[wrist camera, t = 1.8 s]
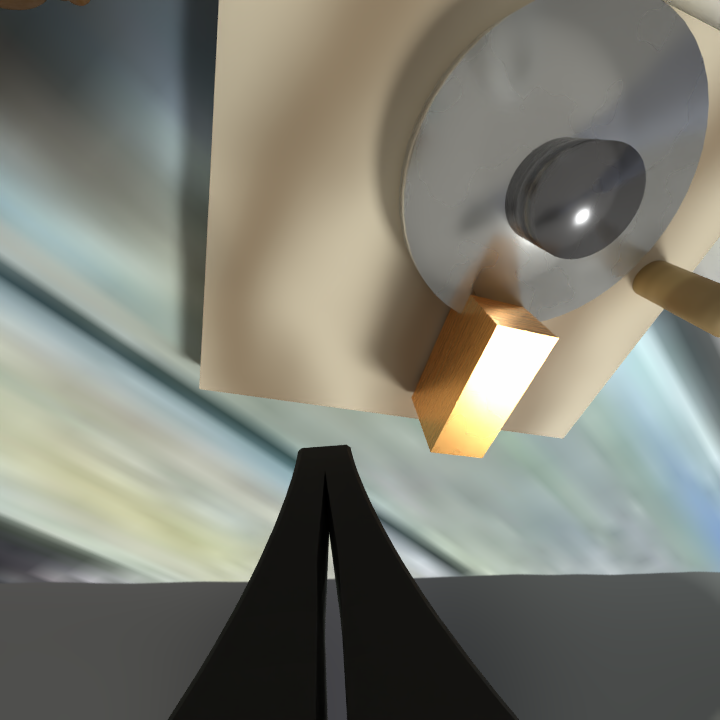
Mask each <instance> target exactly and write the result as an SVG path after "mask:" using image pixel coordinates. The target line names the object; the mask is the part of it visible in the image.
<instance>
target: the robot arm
mask: <svg viewBox="0 0 720 720" xmlns="http://www.w3.org/2000/svg"><path fill="white" fill-rule="evenodd" d="M329 534H330V542H331V549H332V557H333V564H334V572H335V580H336V586H337V595H338V602H339V609H340V618H341V627H342V637H343V652H344V653H343V654H344V672H345V688H346V704H347V705H346V706H347V720H519V719H518V718H517V717H516V715H515V714H514V713H513V712H512V711H511V709H510V708H509V707H508V706H507V705H506V703H505V702H504V701H503V700H502V699H501V697H500V696H499V695H498V694H497V692H496V691H495V690H494V689H493V687H492V686H491V685H490V684H489V682H488V681H487V680H486V678H485V677H484V676H483V675H482V673H481V672H480V671H479V670H478V668H477V667H476V666H475V665H474V664H473V662H472V661H471V659H470V658H469V657H468V655H467V654H466V653H465V652H464V650H463V649H462V647H461V646H460V645H459V643H458V642H457V641H456V639H455V638H454V636H453V635H452V634H451V633H450V631H449V630H448V629H447V627H446V626H445V624H444V623H443V622H442V621H441V619H440V618H439V616H438V615H437V613H436V612H435V610H434V609H433V607H432V606H431V605H430V603H429V602H428V600H427V599H426V597H425V596H424V594H423V593H422V591H421V590H420V588H419V587H418V585H417V584H416V582H415V580H414V579H413V577H412V576H411V574H410V573H409V571H408V569H407V568H406V566H405V565H404V563H403V561H402V560H401V558H400V556H399V554H398V553H397V551H396V549H395V548H394V546H393V544H392V542H391V540H390V539H389V537H388V535H387V533H386V532H385V530H384V528H383V526H382V524H381V522H380V520H379V518H378V516H377V514H376V512H375V510H374V508H373V506H372V504H371V502H370V500H369V498H368V495H367V493H366V491H365V489H364V486H363V484H362V481H361V479H360V477H359V474H358V471H357V469H356V466H355V463H354V459H353V456H352V452H351V448H350V447H349V446H348V445H337V446H324V447H311V448H302V449H300V450H299V451H298V455H297V460H296V465H295V469H294V472H293V476H292V479H291V482H290V485H289V488H288V492H287V495H286V497H285V500H284V503H283V505H282V508H281V510H280V513H279V516H278V518H277V521H276V523H275V526H274V528H273V531H272V533H271V535H270V537H269V540H268V542H267V544H266V546H265V549H264V551H263V553H262V555H261V558H260V560H259V562H258V564H257V566H256V568H255V570H254V572H253V574H252V576H251V578H250V580H249V582H248V584H247V586H246V588H245V590H244V592H243V595H242V596H241V598H240V600H239V602H238V603H237V605H236V607H235V609H234V611H233V613H232V614H231V616H230V618H229V620H228V622H227V623H226V626H225V627H224V629H223V631H222V632H221V634H220V636H219V638H218V639H217V641H216V643H215V645H214V646H213V648H212V650H211V651H210V653H209V655H208V656H207V658H206V660H205V661H204V663H203V665H202V666H201V668H200V670H199V672H198V673H197V675H196V676H195V678H194V679H193V681H192V682H191V684H190V686H189V687H188V689H187V690H186V692H185V694H184V695H183V697H182V698H181V700H180V701H179V703H178V705H177V706H176V708H175V709H174V711H173V713H172V714H171V716H170V717H169V719H168V720H328V719H327V718H328V717H327V687H326V653H325V617H326V594H327V571H328V547H329Z"/></svg>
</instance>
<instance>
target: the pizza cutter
mask: <svg viewBox="0 0 720 720" xmlns="http://www.w3.org/2000/svg"><path fill="white" fill-rule="evenodd" d="M708 108H709V96H708V80H707V75H706V70H705V65H704V60H703V57H702V54H701V52H700V49H699V46H698V44H697V41H696V39H695V37H694V35H693V34H692V32H691V31H690V29H689V27H688V26H687V24H686V22H685V21H684V20H683V19H682V18H681V17H680V16H679V15H678V14H677V12H676V11H675V10H674V9H673V8H672V7H671V6H670V5H668V4H667V3H665V2H664V1H662V0H535V1H533V2H531V3H529V4H527V5H526V6H524V7H522V8H520V9H518V10H516V11H515V12H513V13H511V14H510V15H508V16H506V17H504V18H503V19H501V20H499V21H498V22H496V23H495V24H493V25H492V26H491V27H490V28H488V29H487V30H486V31H484V32H483V33H482V34H481V35H479V36H478V37H477V38H476V39H474V40H473V41H472V42H471V43H470V44H469V45H468V46H467V47H466V48H465V49H464V50H463V51H462V52H461V53H460V54H459V55H458V56H457V57H456V59H455V60H454V61H453V62H452V64H451V65H450V66H449V67H448V69H447V70H446V71H445V73H444V74H443V75H442V76H441V78H440V79H439V80H438V82H437V84H436V85H435V87H434V88H433V90H432V92H431V93H430V95H429V97H428V98H427V100H426V101H425V104H424V106H423V108H422V110H421V112H420V114H419V116H418V118H417V120H416V122H415V125H414V127H413V130H412V133H411V136H410V139H409V141H408V144H407V147H406V152H405V156H404V160H403V164H402V169H401V177H400V186H399V214H400V222H401V229H402V233H403V237H404V241H405V245H406V248H407V250H408V252H409V255H410V257H411V260H412V262H413V263H414V265H415V267H416V269H417V270H418V272H419V274H420V275H421V277H422V278H423V279H424V281H425V282H426V284H427V285H428V286H429V287H430V289H431V290H432V291H433V292H434V294H435V295H436V296H437V297H438V298H439V299H441V300H442V301H443V302H444V303H445V304H446V305H447V306H449V307H450V308H451V309H450V311H449V313H448V316H447V318H446V320H445V323H444V325H443V327H442V329H441V332H440V334H439V336H438V338H437V341H436V343H435V345H434V348H433V350H432V352H431V354H430V357H429V359H428V361H427V363H426V366H425V368H424V370H423V373H422V375H421V377H420V379H419V382H418V384H417V386H416V388H415V391H414V393H413V395H412V401H413V404H414V407H415V409H416V412H417V415H418V418H419V421H420V423H421V426H422V429H423V432H424V435H425V438H426V440H427V443H428V446H429V449H430V452H434V453H443V454H452V455H460V456H469V457H478V458H482V457H483V456H484V454H485V453H486V451H487V450H488V448H489V446H490V445H491V443H492V442H493V440H494V439H495V437H496V435H497V434H498V432H499V431H500V429H501V428H502V426H503V425H504V423H505V421H506V420H507V418H508V417H509V415H510V414H511V412H512V410H513V409H514V407H515V406H516V404H517V403H518V401H519V400H520V398H521V396H522V395H523V393H524V392H525V390H526V389H527V387H528V385H529V384H530V382H531V381H532V379H533V378H534V376H535V375H536V373H537V371H538V370H539V368H540V367H541V365H542V364H543V362H544V360H545V359H546V357H547V356H548V354H549V353H550V351H551V349H552V348H553V346H554V345H555V343H556V342H557V340H558V339H559V338H558V337H557V336H556V335H554V334H553V333H552V332H551V331H550V330H549V329H548V328H547V327H545V326H544V325H543V324H542V323H541V321H546V320H549V319H552V318H555V317H558V316H561V315H563V314H566V313H568V312H570V311H572V310H575V309H577V308H579V307H581V306H583V305H584V304H586V303H588V302H590V301H591V300H593V299H595V298H596V297H598V296H599V295H601V294H602V293H604V292H605V291H607V290H608V289H609V288H611V287H612V286H613V285H614V284H616V283H617V282H618V281H619V280H621V279H622V278H623V277H624V276H625V275H626V274H627V273H628V272H630V271H631V270H632V269H633V268H634V267H635V266H636V265H637V264H638V263H639V262H640V261H641V260H642V258H643V257H644V256H645V255H646V254H647V253H648V252H649V251H650V249H651V248H652V247H653V246H654V245H655V243H656V242H657V241H658V239H659V238H660V237H661V235H662V234H663V233H664V231H665V230H666V228H667V227H668V225H669V224H670V222H671V221H672V219H673V217H674V216H675V214H676V213H677V211H678V209H679V207H680V205H681V203H682V201H683V199H684V197H685V196H686V194H687V192H688V189H689V187H690V184H691V182H692V179H693V177H694V175H695V172H696V169H697V166H698V163H699V160H700V156H701V153H702V150H703V145H704V140H705V135H706V129H707V122H708Z"/></svg>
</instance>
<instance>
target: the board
mask: <svg viewBox="0 0 720 720" xmlns="http://www.w3.org/2000/svg"><path fill="white" fill-rule="evenodd" d="M533 1H535V0H219V10H218V29H217V49H216V69H215V89H214V109H213V129H212V149H211V169H210V188H209V208H208V228H207V248H206V268H205V288H204V308H203V327H202V347H201V367H200V387H199V389H204V390H211V391H218V392H226V393H233V394H240V395H248V396H255V397H262V398H270V399H277V400H284V401H292V402H299V403H306V404H314V405H321V406H328V407H336V408H343V409H350V410H358V411H365V412H372V413H380V414H387V415H394V416H402V417H409V418H416V419H419V418H418V415H417V412H416V409H415V407H414V404H413V401H412V395H413V393H414V391H415V388H416V386H417V384H418V382H419V379H420V377H421V375H422V373H423V370H424V368H425V366H426V363H427V361H428V359H429V357H430V354H431V352H432V350H433V348H434V345H435V343H436V341H437V338H438V336H439V334H440V332H441V329H442V327H443V325H444V323H445V320H446V318H447V316H448V313H449V311H450V309H451V308H450V307H449V306H447V305H446V304H445V303H444V302H443V301H442V300H441V299H439V298H438V297H437V296H436V295H435V294H434V292H433V291H432V290H431V289H430V287H429V286H428V285H427V284H426V282H425V281H424V279H423V278H422V277H421V275H420V274H419V272H418V270H417V269H416V267H415V265H414V263H413V262H412V260H411V257H410V255H409V252H408V250H407V248H406V245H405V241H404V237H403V233H402V229H401V222H400V214H399V186H400V177H401V169H402V164H403V160H404V156H405V152H406V147H407V144H408V141H409V139H410V136H411V133H412V130H413V127H414V125H415V122H416V120H417V118H418V116H419V114H420V112H421V110H422V108H423V106H424V104H425V101H426V100H427V98H428V97H429V95H430V93H431V92H432V90H433V88H434V87H435V85H436V84H437V82H438V80H439V79H440V78H441V76H442V75H443V74H444V73H445V71H446V70H447V69H448V67H449V66H450V65H451V64H452V62H453V61H454V60H455V59H456V57H457V56H458V55H459V54H460V53H461V52H462V51H463V50H464V49H465V48H466V47H467V46H468V45H469V44H470V43H471V42H472V41H473V40H474V39H476V38H477V37H478V36H479V35H481V34H482V33H483V32H484V31H486V30H487V29H488V28H490V27H491V26H492V25H493V24H495V23H496V22H498V21H499V20H501V19H503V18H504V17H506V16H508V15H510V14H511V13H513V12H515V11H516V10H518V9H520V8H522V7H524V6H526V5H527V4H529V3H531V2H533ZM665 3H666V2H665ZM668 5H669V4H668ZM670 6H671V5H670ZM671 7H672V8H673V9H674V10H675V11H676V12H677V14H678V15H679V16H680V17H681V18H682V19H683V20H684V21H685V22H686V24H687V26H688V27H689V29H690V31H691V32H692V34H693V35H694V37H695V39H696V41H697V44H698V46H699V49H700V52H701V54H702V57H703V60H704V65H705V70H706V75H707V80H708V96H709V108H708V122H707V129H706V135H705V140H704V145H703V150H702V153H701V156H700V160H699V163H698V166H697V169H696V172H695V175H694V177H693V179H692V182H691V184H690V187H689V189H688V192H687V194H686V196H685V197H684V199H683V201H682V203H681V205H680V207H679V209H678V211H677V213H676V214H675V216H674V217H673V219H672V221H671V222H670V224H669V225H668V227H667V228H666V230H665V231H664V233H663V234H662V235H661V237H660V238H659V239H658V241H657V242H656V243H655V245H654V246H653V247H652V248H651V249H650V251H649V252H648V253H647V254H646V255H645V256H644V257H643V258H642V260H641V261H640V262H639V263H638V264H637V265H636V266H635V267H634V268H633V269H632V270H631V271H630V272H628V273H627V274H626V275H625V276H624V277H623V278H622V279H621V280H619V281H618V282H617V283H616V284H614V285H613V286H612V287H611V288H609V289H608V290H607V291H605V292H604V293H602V294H601V295H599V296H598V297H596V298H595V299H593V300H591V301H590V302H588V303H586V304H584V305H583V306H581V307H579V308H577V309H575V310H572V311H570V312H568V313H566V314H563V315H561V316H558V317H555V318H552V319H549V320H546V321H541V323H542V324H543V325H544V326H545V327H547V328H548V329H549V330H550V331H551V332H552V333H553V334H554V335H556V336H557V337H558V338H559V339H558V340H557V342H556V343H555V345H554V346H553V348H552V349H551V351H550V353H549V354H548V356H547V357H546V359H545V360H544V362H543V364H542V365H541V367H540V368H539V370H538V371H537V373H536V375H535V376H534V378H533V379H532V381H531V382H530V384H529V385H528V387H527V389H526V390H525V392H524V393H523V395H522V396H521V398H520V400H519V401H518V403H517V404H516V406H515V407H514V409H513V410H512V412H511V414H510V415H509V417H508V418H507V420H506V421H505V423H504V425H503V426H502V428H501V429H500V430H504V431H512V432H519V433H526V434H534V435H541V436H548V437H556V438H564V437H565V435H566V434H567V433H568V432H569V430H570V429H571V428H572V426H573V425H574V424H575V423H576V421H577V420H578V419H579V417H580V416H581V415H582V414H583V412H584V411H585V410H586V408H587V407H588V406H589V405H590V403H591V402H592V401H593V399H594V398H595V397H596V395H597V394H598V393H599V392H600V390H601V389H602V388H603V386H604V385H605V384H606V383H607V381H608V380H609V379H610V377H611V376H612V375H613V374H614V372H615V371H616V370H617V368H618V367H619V366H620V365H621V363H622V362H623V361H624V359H625V358H626V357H627V356H628V354H629V353H630V352H631V350H632V349H633V348H634V346H635V345H636V344H637V343H638V341H639V340H640V339H641V337H642V336H643V335H644V334H645V332H646V331H647V330H648V328H649V327H650V326H651V325H652V323H653V322H654V321H655V319H656V318H657V317H658V316H659V314H660V313H661V312H662V310H663V309H666V310H667V311H669V312H671V313H673V314H675V315H677V316H678V317H680V318H682V319H684V320H686V321H688V322H690V323H691V324H693V325H695V326H697V327H699V328H701V329H703V330H704V331H706V332H708V333H710V334H712V335H714V336H716V337H720V283H717V282H715V281H713V280H710V279H708V278H705V277H703V276H700V275H698V274H695V273H693V270H694V269H695V268H696V267H697V265H698V264H699V263H700V261H701V260H702V259H703V258H704V256H705V255H706V254H707V252H708V251H709V250H710V248H711V247H712V246H713V245H714V243H715V242H716V241H717V239H718V238H719V237H720V31H719V30H718V29H716V28H714V27H712V26H710V25H708V24H706V23H704V22H702V21H700V20H698V19H696V18H694V17H693V16H691V15H689V14H687V13H685V12H683V11H681V10H679V9H677V8H675V7H673V6H671Z"/></svg>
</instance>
